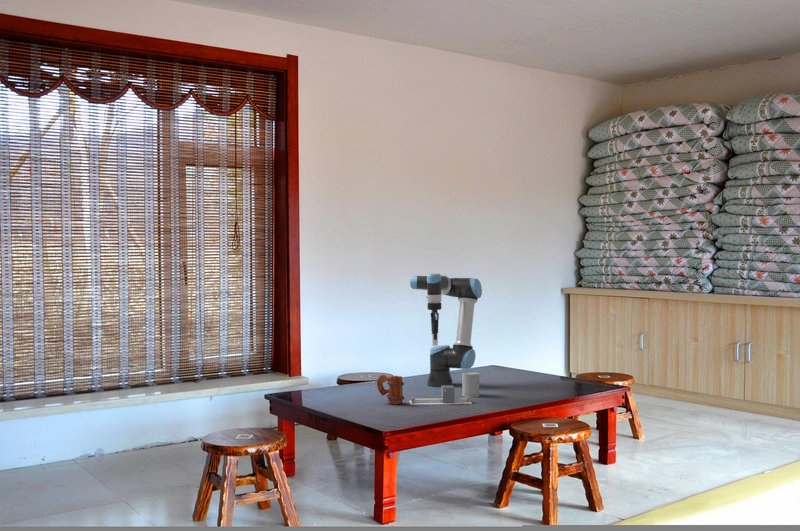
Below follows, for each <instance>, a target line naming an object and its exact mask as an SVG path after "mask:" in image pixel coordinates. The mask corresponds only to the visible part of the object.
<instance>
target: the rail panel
mask: <svg viewBox="0 0 800 531" xmlns="http://www.w3.org/2000/svg"><path fill="white" fill-rule="evenodd" d="M470 399H471V397H469V396H466V397H455V403H443V398H441V397H440V398H414V396H411V399H410V400H409V401H408V402H409V404H410V406H421V405H422V406H424V405H425V406H426V405H427V406H428V405H432V406H433V405H472V404H473V403H472V401H471V400H470Z"/></svg>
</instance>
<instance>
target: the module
mask: <svg viewBox="0 0 800 531" xmlns="http://www.w3.org/2000/svg"><path fill="white" fill-rule="evenodd" d="M440 388H441V392H440V393H441V397H440V398H443V403H455V398H456V397H455V386H454V384H453V385H441V387H440Z"/></svg>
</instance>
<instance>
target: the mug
mask: <svg viewBox="0 0 800 531" xmlns="http://www.w3.org/2000/svg"><path fill="white" fill-rule="evenodd" d="M385 382H387V384H388V389H386V388H384V383H385ZM376 385H377V386H376V387H377V390H378V392H379V394H381V396H386V397H387V402H388V403H389V404H391V405H400V404H402V403H403V400H405V396H404V395H403V386H404V385H405V382H404V381H403V376H401V375H391V376H387V375H386V374H381V375H380V376H379V377H378V378H377V380H376Z"/></svg>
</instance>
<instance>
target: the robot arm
mask: <svg viewBox="0 0 800 531" xmlns="http://www.w3.org/2000/svg"><path fill="white" fill-rule="evenodd" d="M409 279H410V280H409V286H410V288H411V289H412V290H422V291H423V290H424V291H427V296H426V299H427V310H430V311H431V312H430V326H431V336H432V337H431V339H432V340H431V341H432V347H431V348H430V350H429V351H430V353H429V367H430V369H429V370H430V372H429V375H428V379H427V381H426V382H427V383H426V384H427V386H430V387H438V388H439V387H440V388H441V385H453V386H454V381H453V378H452V374H451V369H461V370H469V369H472V367H473V366H474V363H475V361H476V357H477V356H476V351H475V349H474V348H473V347H474V346H473V345H472V344H471V343H472V332H473V331H472V330H473V323H474V321H473V320H474V313H475V312H474V311H475V304H476V303H478V301H479V300H478V299H480V298H481V297H482V293H483V288H482V283H481V282H480V280H479V279H478V278H473V277H449V276H447V275H441V274H440V273H428V274H427V275H413V276H411V278H409ZM443 295H444V296H448V297H452V298H457V300H458V302H459V310H458V318H457V320H458V321H457V328H456V329H457V330H456V340H455V343H453V344H452V347H451V346H450V345H449V344H446V345H445V344H442V345H439V341H438V337H439V319H440V315H439V312H438V310H439V311H440V310H441V309H442V303H441V302H442V296H443Z"/></svg>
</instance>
